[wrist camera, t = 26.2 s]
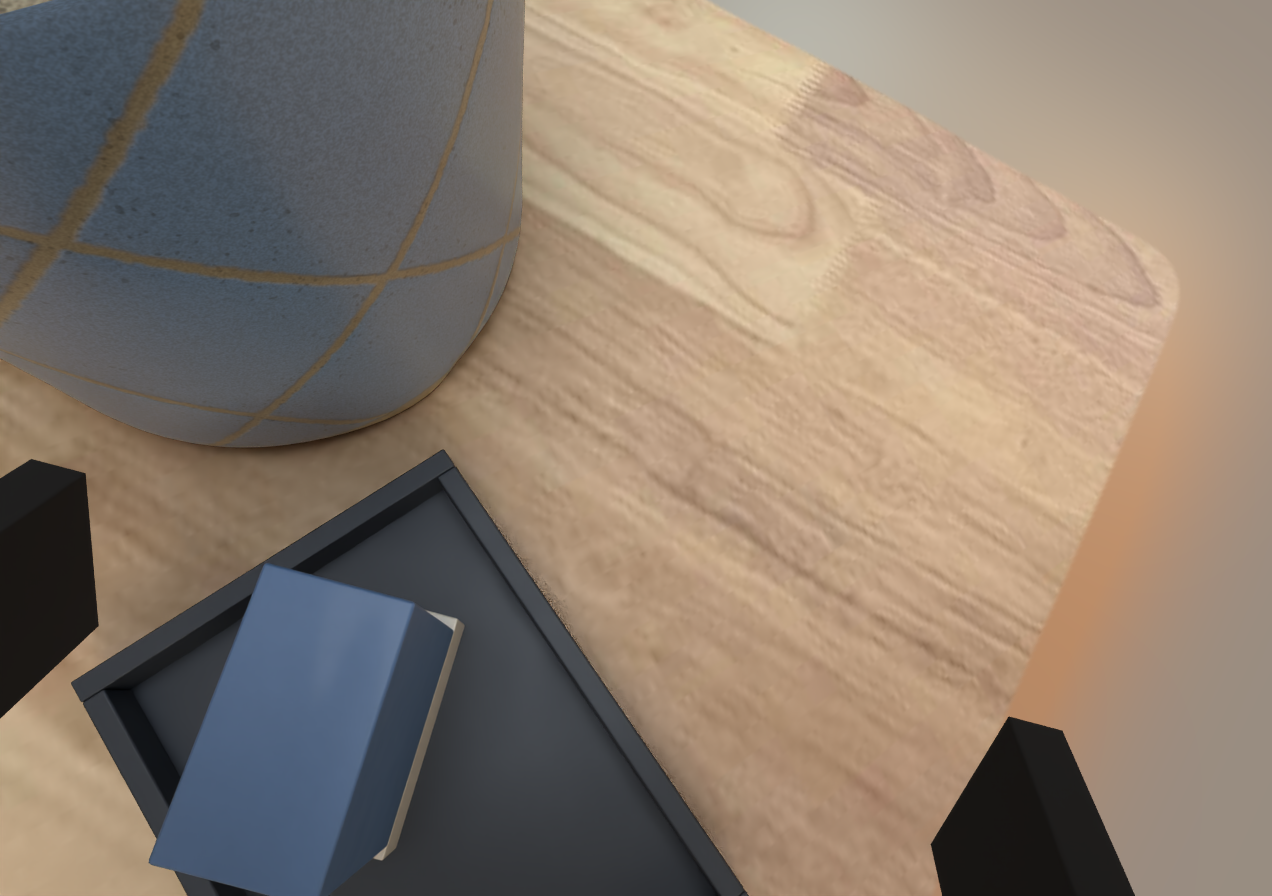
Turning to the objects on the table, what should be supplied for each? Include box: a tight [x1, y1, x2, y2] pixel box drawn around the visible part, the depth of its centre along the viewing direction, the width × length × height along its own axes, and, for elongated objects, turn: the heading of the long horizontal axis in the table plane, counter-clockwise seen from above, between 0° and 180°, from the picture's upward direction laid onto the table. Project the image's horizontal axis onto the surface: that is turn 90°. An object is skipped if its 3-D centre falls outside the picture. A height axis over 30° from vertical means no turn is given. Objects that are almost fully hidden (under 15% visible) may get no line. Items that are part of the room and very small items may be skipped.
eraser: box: [149, 563, 465, 896], centre depth 26 cm, size 8×4×11 cm, turn 166°
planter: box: [0, 0, 525, 448], centre depth 26 cm, size 23×23×24 cm
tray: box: [71, 450, 749, 896], centre depth 30 cm, size 20×15×3 cm
